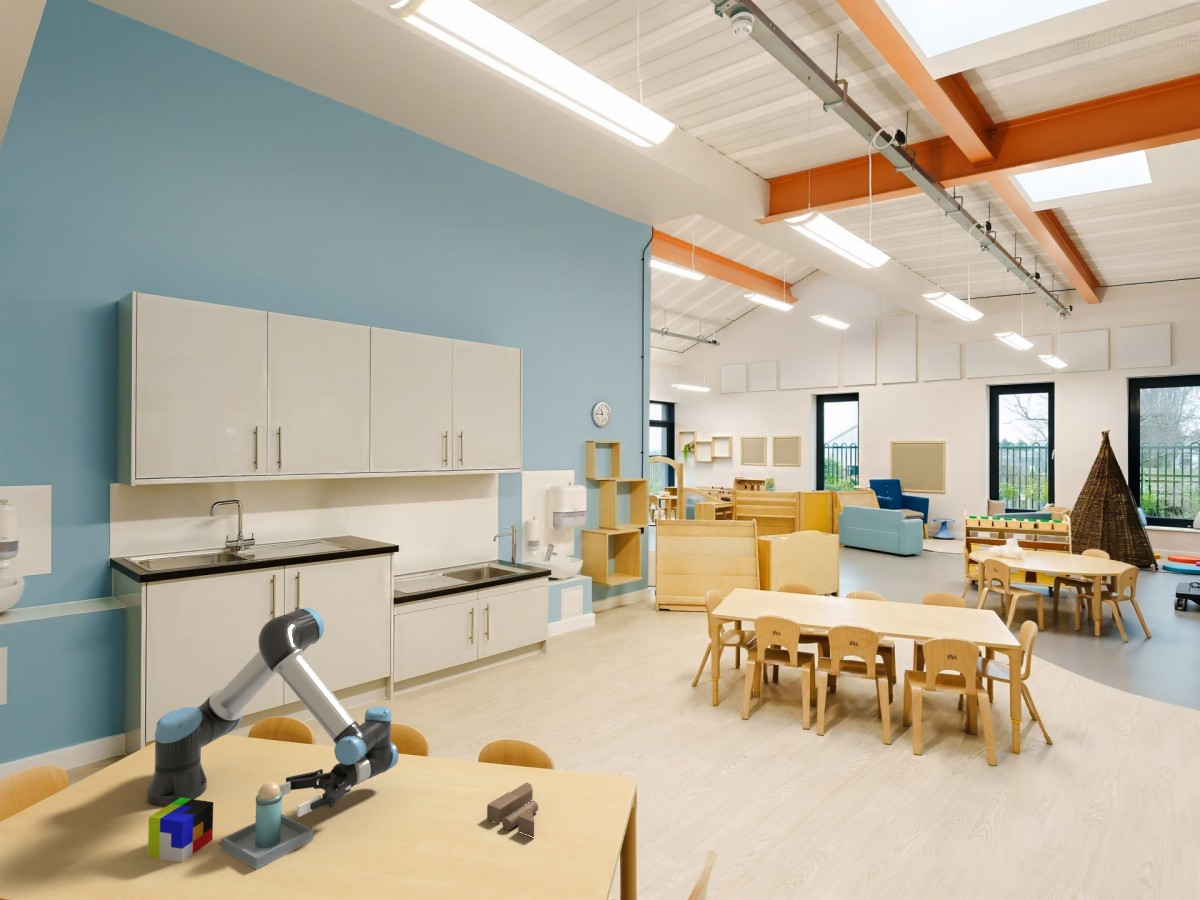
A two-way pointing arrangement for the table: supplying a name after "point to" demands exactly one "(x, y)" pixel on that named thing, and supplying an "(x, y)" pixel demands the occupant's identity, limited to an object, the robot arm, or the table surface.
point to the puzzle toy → (180, 829)
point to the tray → (248, 853)
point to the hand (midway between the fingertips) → (282, 803)
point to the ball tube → (268, 815)
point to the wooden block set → (515, 809)
